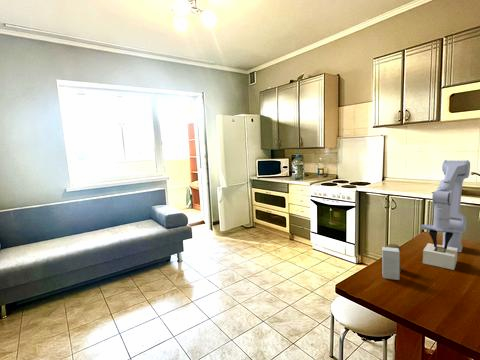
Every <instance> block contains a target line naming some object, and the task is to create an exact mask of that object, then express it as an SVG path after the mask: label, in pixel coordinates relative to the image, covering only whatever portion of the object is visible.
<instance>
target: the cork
mask: <svg viewBox="0 0 480 360" xmlns="http://www.w3.org/2000/svg"><path fill="white" fill-rule="evenodd" d="M386 247H390V248H398V249H399V252H400V253H401V247H400V246H399V245H398V244H395V243H389V244H387V245H386ZM401 265H402V264H400V272H401V271H402V266H401Z"/></svg>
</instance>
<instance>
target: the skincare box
mask: <svg viewBox="0 0 480 360" xmlns="http://www.w3.org/2000/svg"><path fill="white" fill-rule="evenodd" d="M381 251H382V252H381V253H382V255H381V257H382V259H381V261H382V263H381V265H382V266H381V268H382V269H381V270H382V271H381V273H382V279H387V280H395V281H396V280H397V281H400V272H401V271H400V265H401V259H400V258H401V256H400V255H401V254H400V253H401V251H400V252H399V249H398V248H390V247H387V246H382V247H381Z"/></svg>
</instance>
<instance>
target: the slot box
mask: <svg viewBox="0 0 480 360" xmlns="http://www.w3.org/2000/svg"><path fill="white" fill-rule="evenodd" d="M437 248H440V249H444V246H442V244H437V246H436V247H434V243H430V242H429V243H428V242H427V244H426V246H425V247H424V248H423V249H422V250H423V251H422V264H425V265H429V266H434V267H438V268H442V269H447V270H452V271H455V268H456V265H457V263H458V252H457V251H458V248H453V247H447V249H444V253H442V252H437Z"/></svg>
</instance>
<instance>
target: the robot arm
mask: <svg viewBox="0 0 480 360" xmlns="http://www.w3.org/2000/svg"><path fill="white" fill-rule="evenodd" d="M441 168H442V172H443V174H444V178H443V179H441V180H440V182H439V184H438V186H437V189H436V191H433V192H432V207H433V223H432V224H421V225H420V229H421V230H423V231H424V230H425V231H426V230H427V231H428V233H429V236H430V238H431V240H432V244H434V247H436V246H437V245H438V232H439V233H442V244H441V245H442V246H444V249H447V247H453V248H458V251H457V253H462V250H463V248H464V246H463V245H462V237H463V235H464V234H463V233H465V232H466V230H467V217H466V216H465V215H464V214H463V213H461V202H462V200H461V199H462V192H463V191H462V190H463V183H464V181H465V179H467V178H469V176H470V174H471V173H470V172H471V171H470V169H471V162H470V161H469V160H447V159H446V160H443V162H442V166H441Z"/></svg>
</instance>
